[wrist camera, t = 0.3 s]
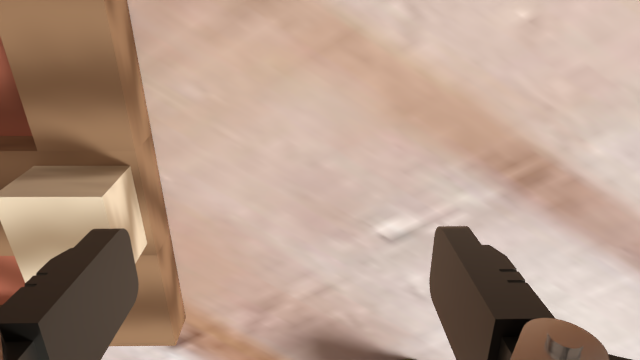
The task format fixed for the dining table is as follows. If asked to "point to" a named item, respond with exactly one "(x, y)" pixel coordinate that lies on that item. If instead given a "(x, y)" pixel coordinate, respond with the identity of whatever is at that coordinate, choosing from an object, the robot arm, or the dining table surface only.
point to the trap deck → (86, 133)
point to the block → (67, 210)
